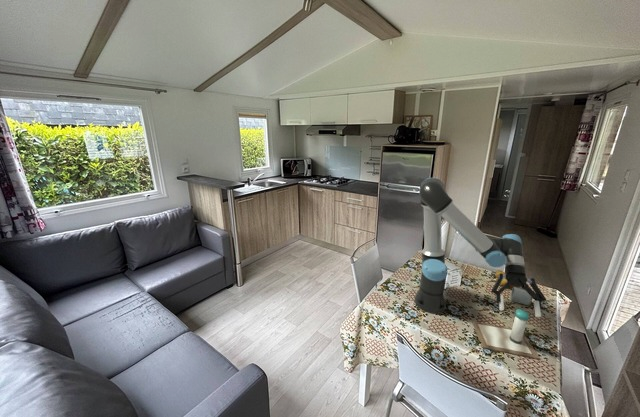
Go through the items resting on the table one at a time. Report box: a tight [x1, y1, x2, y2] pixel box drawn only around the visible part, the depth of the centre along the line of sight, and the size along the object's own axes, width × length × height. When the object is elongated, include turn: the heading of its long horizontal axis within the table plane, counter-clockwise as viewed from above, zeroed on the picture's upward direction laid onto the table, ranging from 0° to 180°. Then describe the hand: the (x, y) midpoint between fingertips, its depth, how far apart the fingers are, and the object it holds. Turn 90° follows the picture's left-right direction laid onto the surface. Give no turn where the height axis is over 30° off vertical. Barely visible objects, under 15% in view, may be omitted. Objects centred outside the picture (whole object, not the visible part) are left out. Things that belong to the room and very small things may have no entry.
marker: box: [510, 308, 530, 344], centre depth 108 cm, size 4×4×14 cm
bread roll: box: [495, 269, 518, 289], centre depth 150 cm, size 13×10×8 cm
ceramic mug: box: [510, 287, 533, 306], centre depth 136 cm, size 11×8×8 cm
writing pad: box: [472, 320, 541, 360], centre depth 111 cm, size 20×16×1 cm
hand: (519, 313), depth 111 cm, fingers open, 13 cm apart
